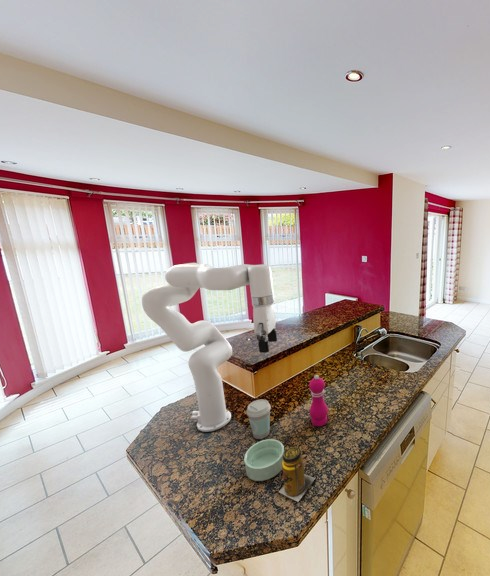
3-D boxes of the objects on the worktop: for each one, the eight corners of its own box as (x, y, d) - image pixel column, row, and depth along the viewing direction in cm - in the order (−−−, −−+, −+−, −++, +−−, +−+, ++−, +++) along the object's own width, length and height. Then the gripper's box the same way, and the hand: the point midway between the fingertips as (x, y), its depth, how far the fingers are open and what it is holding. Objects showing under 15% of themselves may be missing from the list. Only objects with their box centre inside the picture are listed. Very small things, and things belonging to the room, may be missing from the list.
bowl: (239, 482, 85) (237, 468, 84) (254, 451, 97) (253, 439, 96) (278, 482, 85) (277, 468, 84) (289, 451, 97) (288, 439, 96)
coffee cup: (249, 429, 109) (245, 401, 106) (272, 423, 111) (269, 396, 109) (249, 444, 101) (245, 414, 98) (274, 437, 104) (271, 408, 101)
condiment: (278, 492, 82) (274, 456, 79) (296, 470, 89) (293, 437, 87) (298, 502, 78) (294, 465, 76) (315, 479, 86) (313, 444, 83)
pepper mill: (325, 428, 108) (322, 380, 104) (307, 426, 109) (304, 379, 105) (330, 416, 115) (328, 371, 111) (313, 414, 116) (310, 370, 112)
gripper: (260, 295, 106) (266, 338, 109) (242, 307, 89) (249, 357, 92) (280, 294, 106) (285, 337, 109) (265, 306, 89) (272, 356, 92)
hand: (268, 346), depth 101 cm, fingers open, 9 cm apart
